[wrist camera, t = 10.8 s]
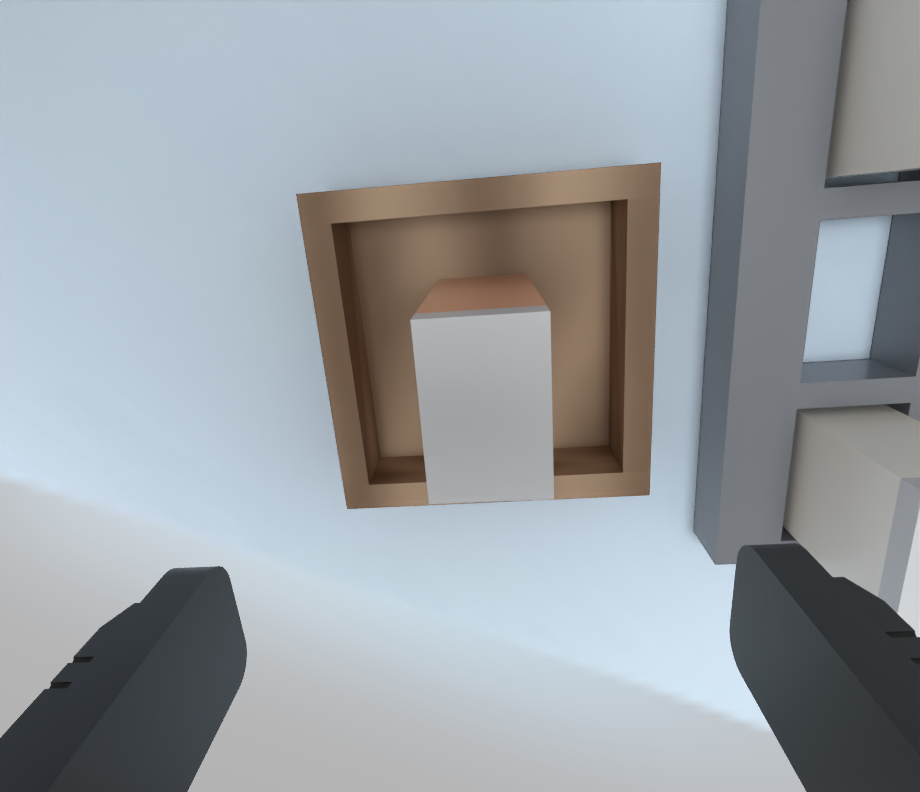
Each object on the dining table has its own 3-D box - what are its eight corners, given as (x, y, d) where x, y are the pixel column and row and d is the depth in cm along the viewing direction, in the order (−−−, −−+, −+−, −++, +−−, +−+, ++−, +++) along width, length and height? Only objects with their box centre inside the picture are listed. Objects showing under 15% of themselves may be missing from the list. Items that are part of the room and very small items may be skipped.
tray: (365, 470, 30) (347, 508, 26) (324, 196, 25) (296, 193, 21) (627, 457, 29) (649, 495, 25) (633, 170, 24) (660, 162, 20)
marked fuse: (530, 398, 27) (554, 499, 17) (449, 402, 27) (428, 504, 18) (526, 273, 25) (550, 311, 15) (439, 279, 25) (410, 319, 16)
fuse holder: (901, 522, 29) (946, 555, 26) (693, 531, 30) (715, 564, 27) (1015, -46, 21) (1097, -86, 18) (728, -15, 22) (764, -49, 19)
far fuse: (838, 498, 29) (1010, 637, 19) (760, 501, 29) (891, 641, 20) (855, 390, 27) (1054, 486, 18) (771, 395, 27) (922, 492, 18)
